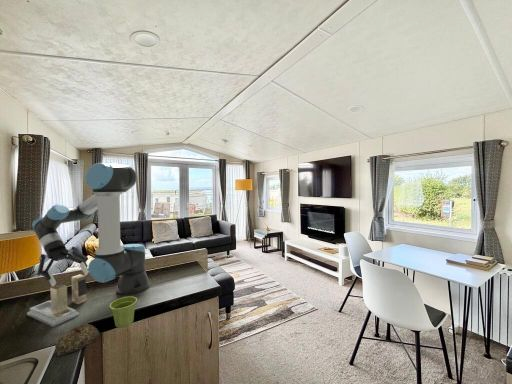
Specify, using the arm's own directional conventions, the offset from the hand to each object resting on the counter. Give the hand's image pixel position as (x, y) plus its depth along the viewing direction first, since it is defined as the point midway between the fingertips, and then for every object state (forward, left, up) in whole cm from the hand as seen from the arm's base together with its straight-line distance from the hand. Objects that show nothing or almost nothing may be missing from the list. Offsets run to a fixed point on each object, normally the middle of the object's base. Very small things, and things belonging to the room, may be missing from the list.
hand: (71, 279), depth 108 cm
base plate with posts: (-3, +12, -10) cm, 16 cm away
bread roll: (-27, +27, -11) cm, 39 cm away
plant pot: (-37, +16, -10) cm, 42 cm away
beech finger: (-5, +1, -10) cm, 11 cm away
